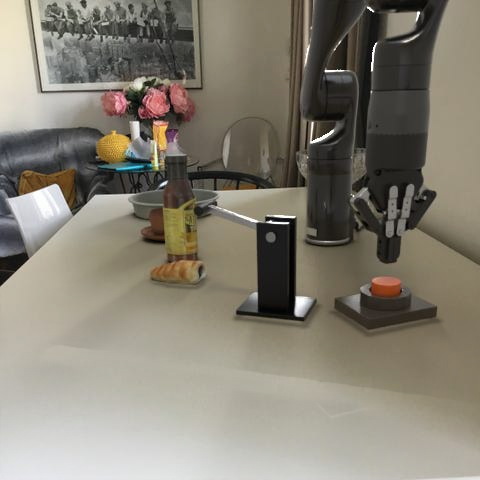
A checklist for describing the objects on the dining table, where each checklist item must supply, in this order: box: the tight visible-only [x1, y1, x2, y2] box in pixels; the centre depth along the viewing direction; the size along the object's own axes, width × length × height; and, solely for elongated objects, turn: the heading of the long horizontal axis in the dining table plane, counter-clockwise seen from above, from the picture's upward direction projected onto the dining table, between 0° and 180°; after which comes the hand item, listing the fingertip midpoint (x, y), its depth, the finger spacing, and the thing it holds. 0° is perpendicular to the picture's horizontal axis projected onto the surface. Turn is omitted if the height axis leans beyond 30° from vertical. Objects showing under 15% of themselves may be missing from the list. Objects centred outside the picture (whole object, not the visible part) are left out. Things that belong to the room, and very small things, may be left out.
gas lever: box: [194, 199, 290, 230], centre depth 80 cm, size 13×6×2 cm, turn 70°
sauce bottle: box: [162, 153, 199, 263], centre depth 107 cm, size 6×6×20 cm
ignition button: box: [370, 276, 402, 296], centre depth 79 cm, size 4×4×2 cm
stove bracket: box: [235, 214, 318, 323], centre depth 81 cm, size 10×8×14 cm
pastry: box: [149, 260, 207, 286], centre depth 97 cm, size 9×7×4 cm
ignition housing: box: [333, 282, 438, 331], centre depth 80 cm, size 11×9×4 cm
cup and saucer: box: [140, 208, 165, 242], centre depth 126 cm, size 12×12×6 cm
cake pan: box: [127, 188, 221, 220], centre depth 153 cm, size 25×25×4 cm
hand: (387, 261), depth 78 cm, fingers closed
